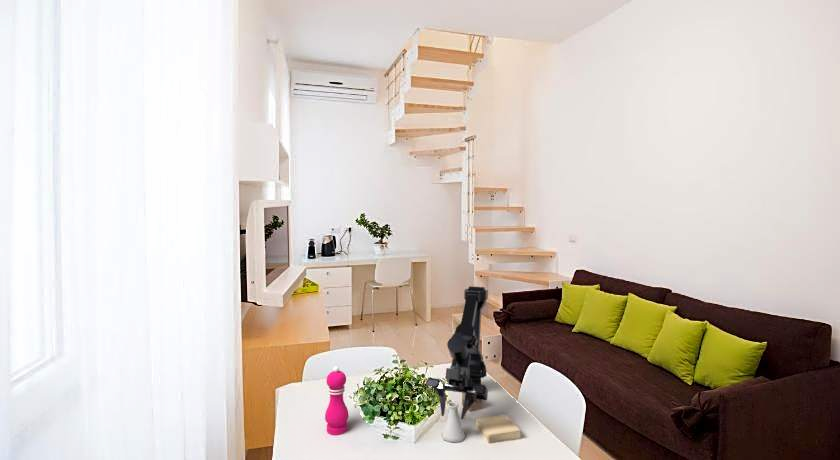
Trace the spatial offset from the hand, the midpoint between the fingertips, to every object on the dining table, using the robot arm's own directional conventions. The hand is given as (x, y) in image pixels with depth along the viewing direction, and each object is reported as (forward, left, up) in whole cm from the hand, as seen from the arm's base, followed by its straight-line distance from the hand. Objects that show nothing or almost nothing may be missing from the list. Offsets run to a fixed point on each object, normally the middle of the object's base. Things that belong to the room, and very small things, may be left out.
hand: (452, 417), depth 121 cm
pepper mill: (-13, -33, -7) cm, 36 cm away
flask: (-1, +1, -7) cm, 7 cm away
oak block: (0, +15, -7) cm, 16 cm away
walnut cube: (-17, +13, -7) cm, 22 cm away
